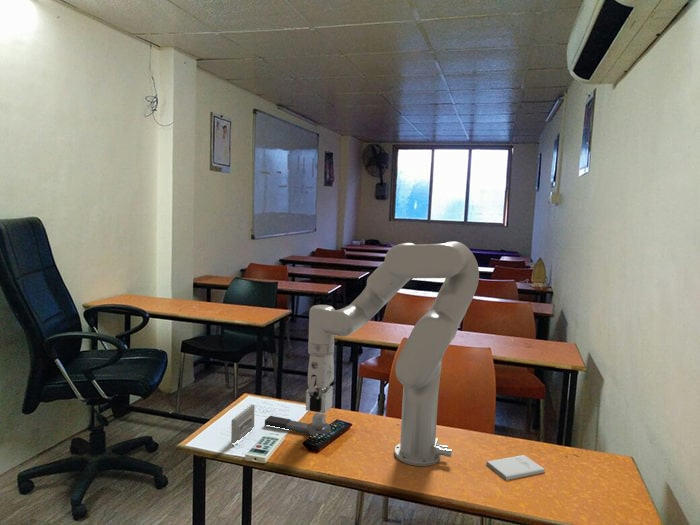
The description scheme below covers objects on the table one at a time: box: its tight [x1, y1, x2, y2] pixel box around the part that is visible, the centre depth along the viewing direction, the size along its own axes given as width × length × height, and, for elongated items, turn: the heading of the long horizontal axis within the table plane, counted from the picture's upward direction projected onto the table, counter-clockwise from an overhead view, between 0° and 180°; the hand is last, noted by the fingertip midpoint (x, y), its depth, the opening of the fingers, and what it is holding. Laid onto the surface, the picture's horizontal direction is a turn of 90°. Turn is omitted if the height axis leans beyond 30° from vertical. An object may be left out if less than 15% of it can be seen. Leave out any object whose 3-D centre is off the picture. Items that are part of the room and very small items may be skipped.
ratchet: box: [264, 412, 331, 438], centre depth 149 cm, size 20×7×6 cm, turn 71°
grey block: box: [305, 385, 334, 414], centre depth 146 cm, size 6×6×6 cm
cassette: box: [230, 404, 255, 444], centre depth 143 cm, size 12×2×8 cm, turn 163°
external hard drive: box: [486, 454, 546, 481], centre depth 131 cm, size 2×8×12 cm
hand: (319, 406), depth 146 cm, fingers closed on grey block, 6 cm apart
